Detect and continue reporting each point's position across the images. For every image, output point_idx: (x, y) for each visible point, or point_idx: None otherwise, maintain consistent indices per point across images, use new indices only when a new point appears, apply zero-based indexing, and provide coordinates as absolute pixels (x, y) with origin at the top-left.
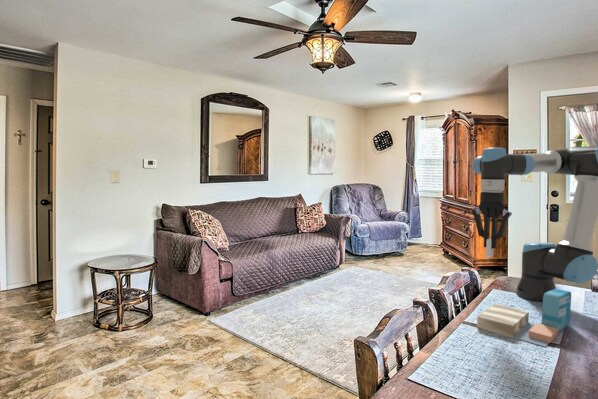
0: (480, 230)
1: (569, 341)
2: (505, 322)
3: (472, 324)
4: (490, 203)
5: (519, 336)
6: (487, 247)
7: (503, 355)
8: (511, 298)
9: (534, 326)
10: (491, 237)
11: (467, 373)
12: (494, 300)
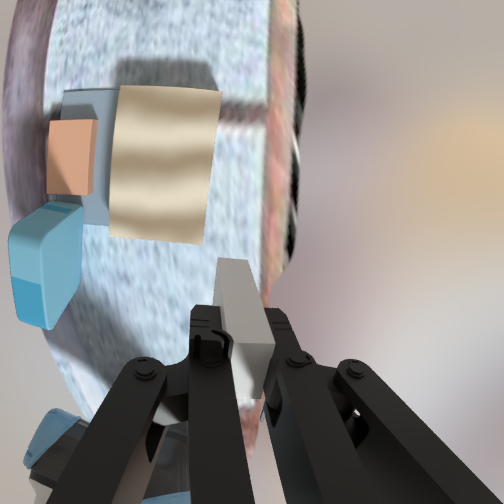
0: (374, 407)
1: (33, 170)
2: (142, 94)
3: (237, 111)
4: None
5: (115, 105)
6: (249, 296)
7: None
8: None
9: (86, 162)
10: (227, 364)
11: None
12: None
